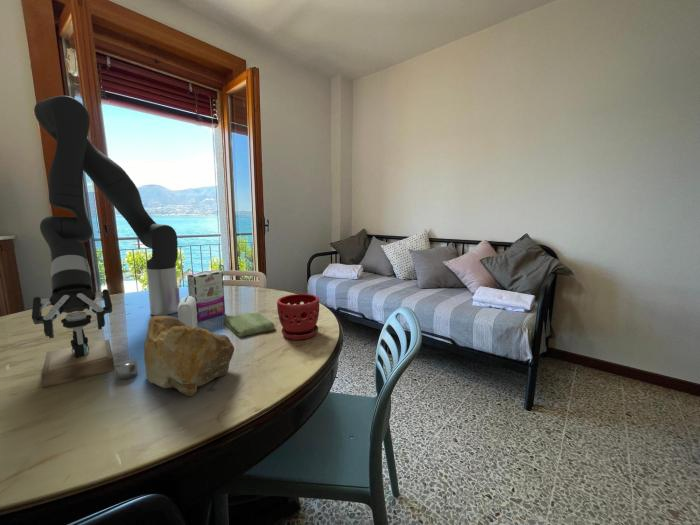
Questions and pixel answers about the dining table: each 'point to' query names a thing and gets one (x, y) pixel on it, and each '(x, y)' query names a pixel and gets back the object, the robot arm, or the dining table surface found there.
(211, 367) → the rough brown rock
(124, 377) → the cylinder
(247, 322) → the washcloth
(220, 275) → the candy bar box
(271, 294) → the dining table surface
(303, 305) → the plant pot
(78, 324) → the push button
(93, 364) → the tray
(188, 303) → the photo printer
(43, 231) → the robot arm
